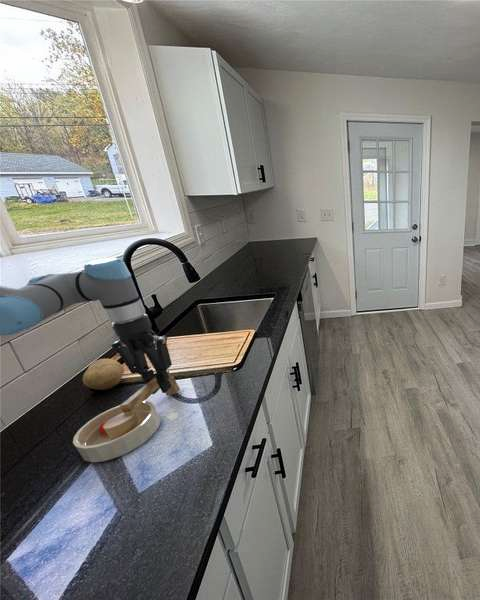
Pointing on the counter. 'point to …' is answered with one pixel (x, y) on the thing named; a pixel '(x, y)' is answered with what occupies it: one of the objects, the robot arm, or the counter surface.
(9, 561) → the counter surface
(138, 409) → the bowl
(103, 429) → the tomato
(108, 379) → the potato
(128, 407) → the ladle
